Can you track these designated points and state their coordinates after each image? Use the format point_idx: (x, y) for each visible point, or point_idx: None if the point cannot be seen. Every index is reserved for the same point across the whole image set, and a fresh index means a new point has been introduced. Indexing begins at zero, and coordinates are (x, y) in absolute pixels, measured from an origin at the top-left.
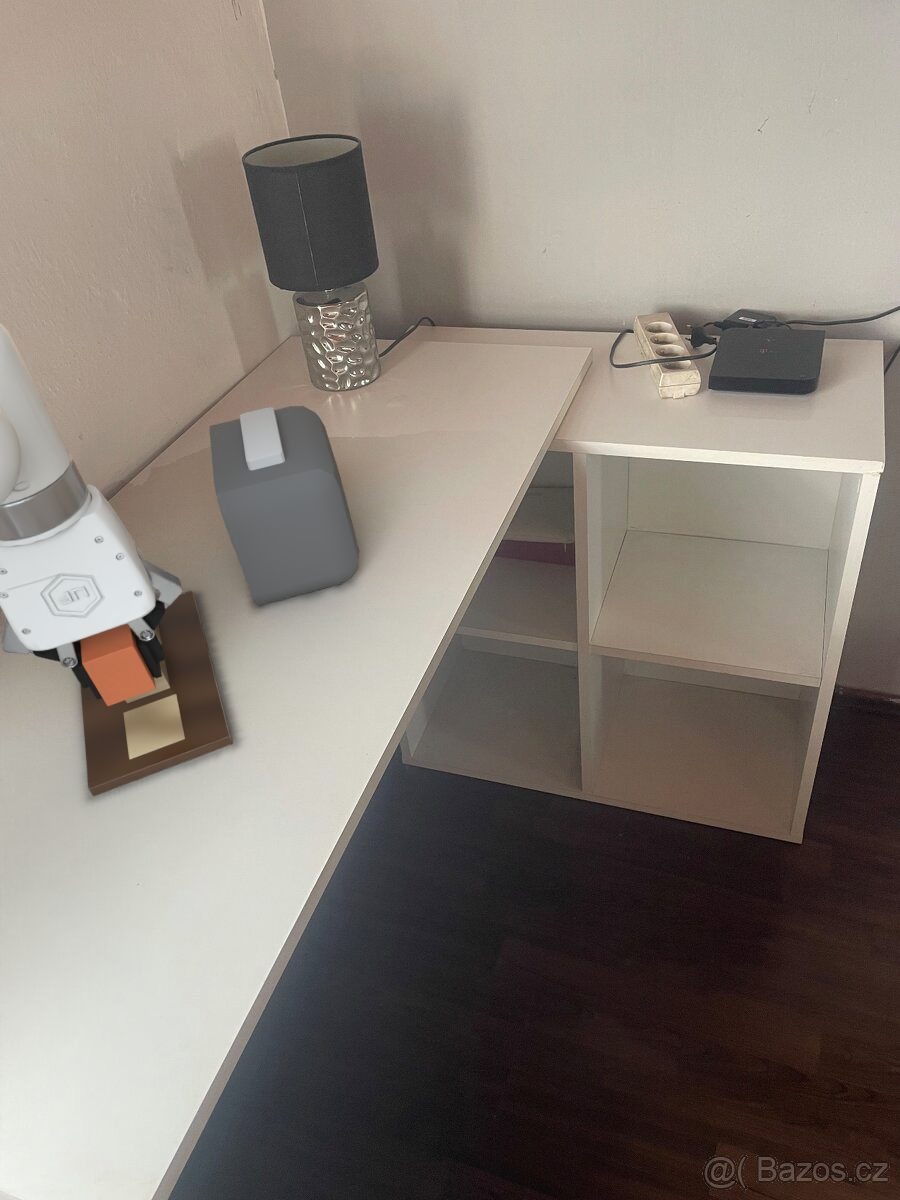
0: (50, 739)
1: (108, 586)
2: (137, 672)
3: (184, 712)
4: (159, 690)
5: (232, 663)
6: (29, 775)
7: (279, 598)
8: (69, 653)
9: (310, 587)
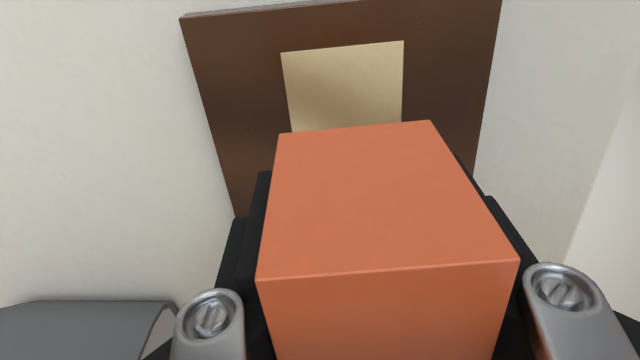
0: (530, 165)
1: None
2: (301, 178)
3: (283, 127)
4: None
5: (208, 213)
6: (590, 96)
7: (123, 304)
8: (569, 331)
9: (63, 308)
